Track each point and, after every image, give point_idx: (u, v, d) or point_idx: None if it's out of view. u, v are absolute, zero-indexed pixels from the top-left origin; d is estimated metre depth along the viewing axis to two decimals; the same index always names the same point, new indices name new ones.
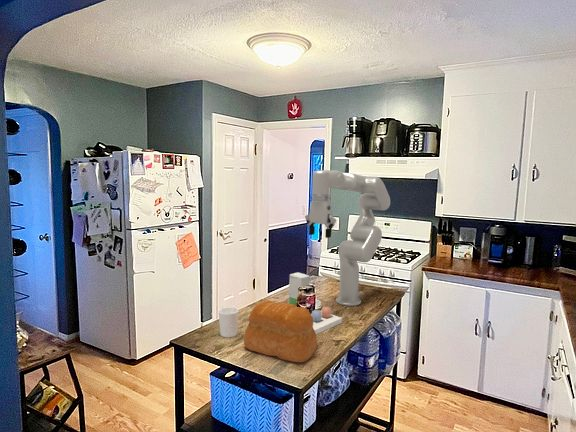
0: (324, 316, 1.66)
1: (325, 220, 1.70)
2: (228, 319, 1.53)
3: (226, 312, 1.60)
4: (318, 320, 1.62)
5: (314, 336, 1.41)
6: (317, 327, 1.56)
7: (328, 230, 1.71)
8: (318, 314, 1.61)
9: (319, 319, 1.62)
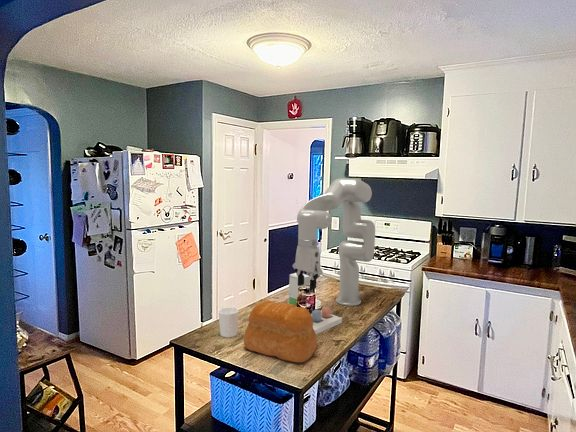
0: (324, 316, 1.66)
1: (312, 269, 1.51)
2: (228, 319, 1.53)
3: (226, 312, 1.60)
4: (318, 320, 1.62)
5: (314, 336, 1.40)
6: (317, 327, 1.56)
7: (313, 281, 1.53)
8: (318, 314, 1.61)
9: (319, 319, 1.62)
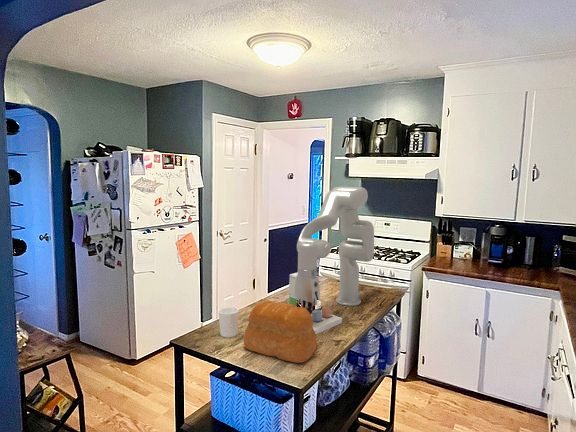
0: (324, 316, 1.66)
1: (312, 298, 1.53)
2: (228, 319, 1.53)
3: (226, 312, 1.60)
4: (318, 320, 1.62)
5: (314, 336, 1.40)
6: (317, 327, 1.56)
7: (307, 309, 1.57)
8: (318, 314, 1.61)
9: (319, 319, 1.62)
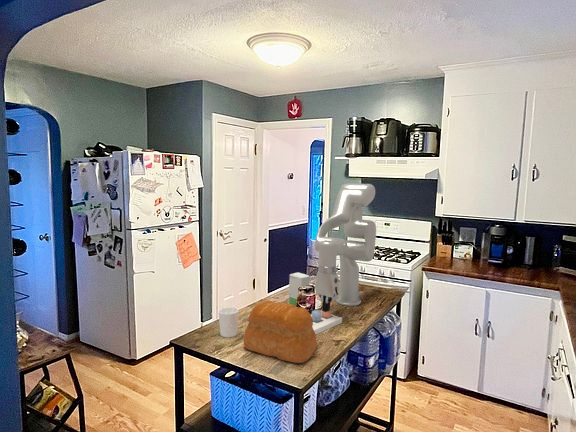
0: None
1: (332, 293, 1.62)
2: (228, 319, 1.53)
3: (226, 312, 1.60)
4: (318, 320, 1.62)
5: (313, 337, 1.40)
6: (317, 327, 1.56)
7: (327, 304, 1.66)
8: (318, 314, 1.61)
9: (319, 319, 1.62)
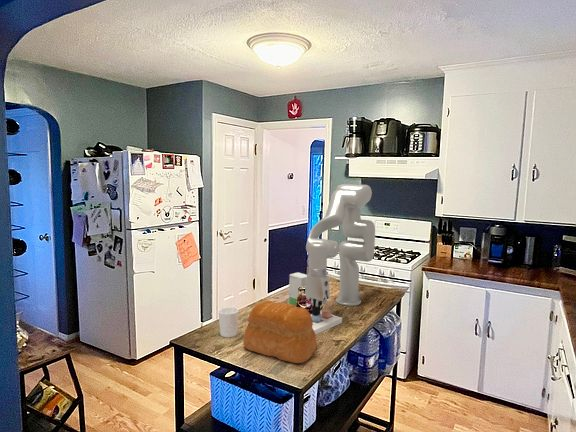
0: None
1: (322, 297, 1.57)
2: (228, 319, 1.53)
3: (226, 312, 1.60)
4: None
5: (313, 337, 1.40)
6: (317, 327, 1.56)
7: (317, 308, 1.61)
8: (318, 317, 1.61)
9: None
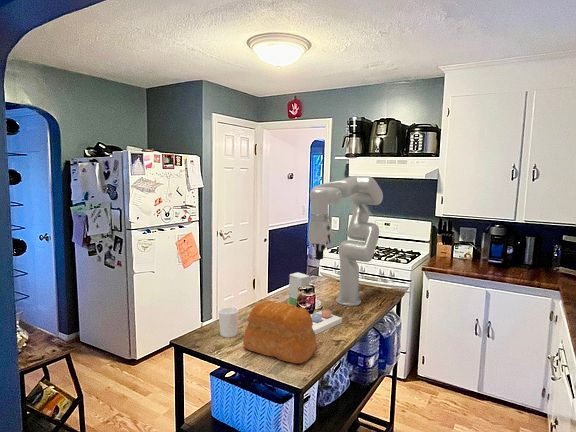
0: None
1: (325, 241, 1.64)
2: (228, 319, 1.53)
3: (226, 312, 1.60)
4: None
5: (313, 337, 1.40)
6: (317, 327, 1.56)
7: (320, 252, 1.68)
8: (318, 317, 1.62)
9: None
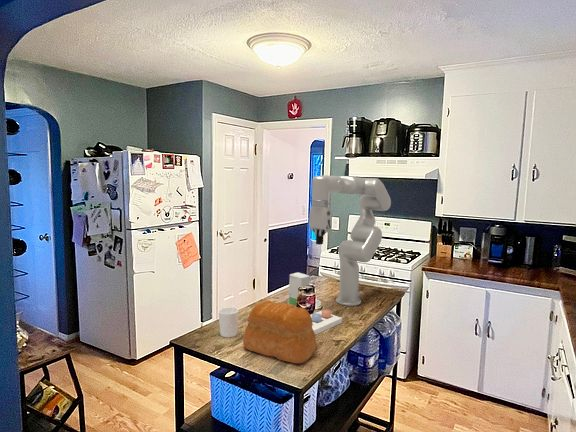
0: None
1: (325, 226, 1.71)
2: (228, 319, 1.53)
3: (226, 312, 1.60)
4: None
5: (313, 337, 1.40)
6: (317, 327, 1.56)
7: (320, 237, 1.74)
8: (318, 317, 1.62)
9: None
